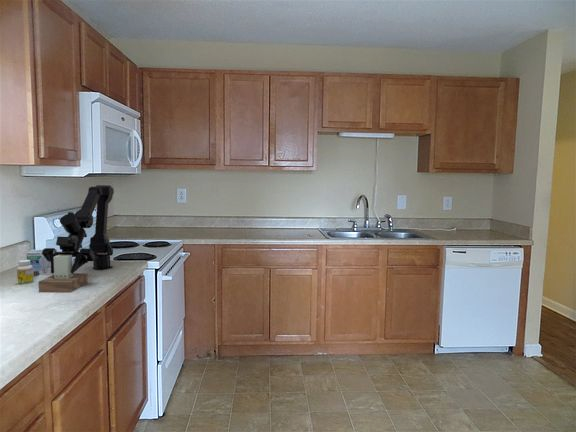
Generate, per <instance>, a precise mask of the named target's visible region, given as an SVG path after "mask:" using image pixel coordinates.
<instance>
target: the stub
mask: <svg viewBox="0 0 576 432" xmlns="http://www.w3.org/2000/svg"><path fill="white" fill-rule="evenodd" d="M72 266H73V257H72V255H57V256H54V274H53V275H54V277H55V279H69V278H71V277H73V274H71V269H72Z"/></svg>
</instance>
